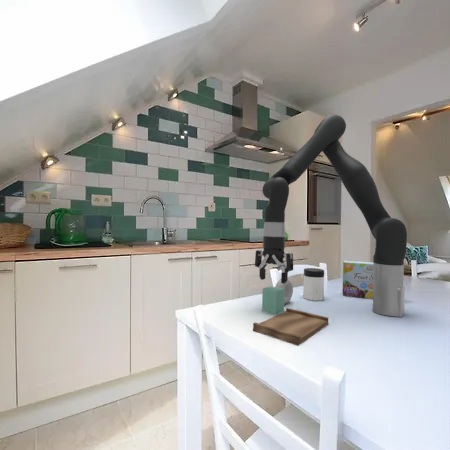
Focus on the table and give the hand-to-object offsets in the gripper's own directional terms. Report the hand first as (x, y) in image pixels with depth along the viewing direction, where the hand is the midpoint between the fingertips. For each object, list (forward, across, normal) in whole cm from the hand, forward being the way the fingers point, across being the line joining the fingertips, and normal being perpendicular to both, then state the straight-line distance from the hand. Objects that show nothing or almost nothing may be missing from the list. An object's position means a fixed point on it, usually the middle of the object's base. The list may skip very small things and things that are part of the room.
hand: (272, 281), depth 95 cm
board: (+10, -13, +9) cm, 19 cm away
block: (+11, 0, 0) cm, 11 cm away
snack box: (+10, -20, -45) cm, 50 cm away
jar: (+11, -3, -27) cm, 29 cm away
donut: (+11, +2, -11) cm, 15 cm away
